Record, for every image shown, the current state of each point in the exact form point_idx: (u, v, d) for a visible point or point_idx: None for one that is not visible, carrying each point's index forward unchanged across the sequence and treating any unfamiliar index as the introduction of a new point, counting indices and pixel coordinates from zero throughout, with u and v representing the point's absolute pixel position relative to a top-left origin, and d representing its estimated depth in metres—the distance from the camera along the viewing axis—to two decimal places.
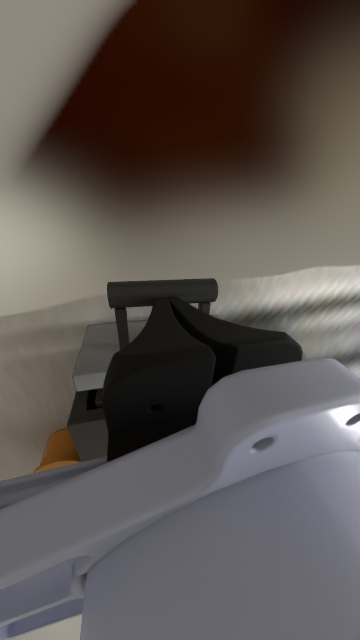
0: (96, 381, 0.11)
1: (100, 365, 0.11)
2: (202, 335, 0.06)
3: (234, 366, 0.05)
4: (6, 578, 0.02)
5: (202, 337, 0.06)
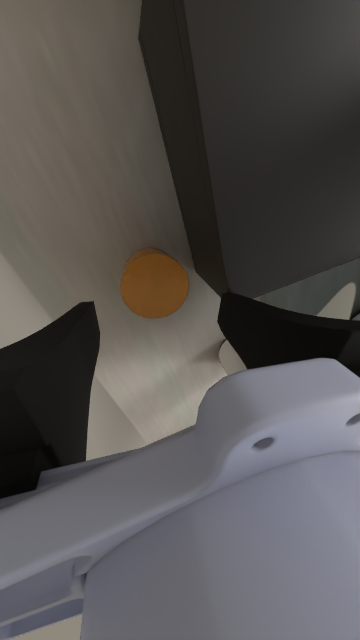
0: None
1: None
2: (296, 324, 0.07)
3: (343, 349, 0.06)
4: (6, 576, 0.02)
5: (295, 326, 0.07)
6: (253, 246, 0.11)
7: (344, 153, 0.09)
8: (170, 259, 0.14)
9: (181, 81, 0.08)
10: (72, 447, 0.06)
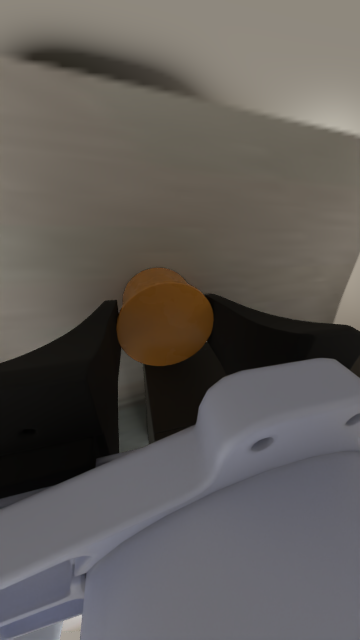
0: None
1: None
2: (265, 328, 0.07)
3: (307, 355, 0.05)
4: (5, 578, 0.02)
5: (265, 329, 0.07)
6: None
7: None
8: (196, 350, 0.11)
9: None
10: (112, 438, 0.06)
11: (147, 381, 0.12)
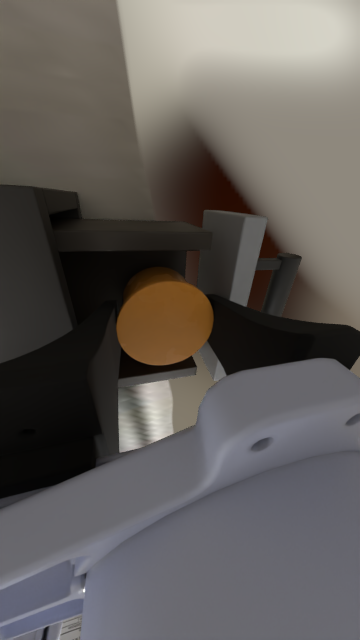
0: (251, 243, 0.09)
1: None
2: (265, 328, 0.07)
3: (307, 355, 0.05)
4: (5, 578, 0.02)
5: (265, 329, 0.07)
6: None
7: None
8: (196, 350, 0.11)
9: None
10: (112, 438, 0.06)
11: None
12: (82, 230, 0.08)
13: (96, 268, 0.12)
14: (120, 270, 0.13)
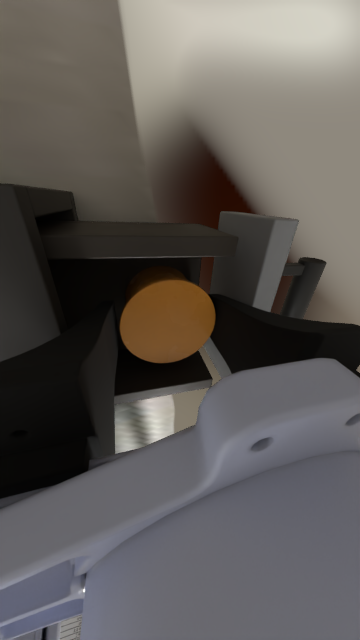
0: (279, 248, 0.08)
1: None
2: (273, 327, 0.07)
3: (317, 353, 0.05)
4: (5, 578, 0.02)
5: (272, 329, 0.07)
6: None
7: None
8: (198, 348, 0.11)
9: None
10: (107, 439, 0.06)
11: None
12: (97, 235, 0.07)
13: (106, 274, 0.11)
14: (131, 276, 0.12)
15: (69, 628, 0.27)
